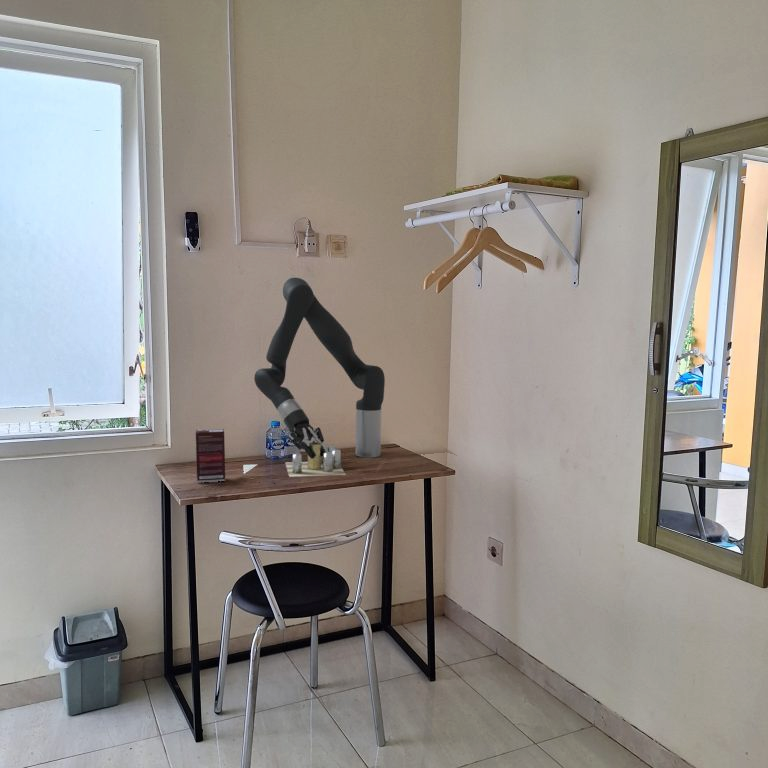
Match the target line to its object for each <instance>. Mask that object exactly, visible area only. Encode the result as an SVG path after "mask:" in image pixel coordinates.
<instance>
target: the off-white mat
mask: <svg viewBox="0 0 768 768" xmlns="http://www.w3.org/2000/svg"><path fill="white" fill-rule="evenodd" d="M258 465H259V464H254V463H253V464H243V466H242V467H243V469H242V470H243V471H244V472H243V474H244V475H245V474H246V473H247V472H249V471H251V470H252V469H253V468H255V467H256V466H258Z"/></svg>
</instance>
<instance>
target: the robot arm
mask: <svg viewBox="0 0 768 768" xmlns="http://www.w3.org/2000/svg"><path fill="white" fill-rule="evenodd" d="M282 295H283V298H284V299H285V302H286V304H285V305H286V307H285V310H284V311H285V312H284V315H283V318H282V320H281V322H280V324H279V326H278V328H277V329H276V330H275V332H274V335H273V336H272V339H271V341H270V344H269V347H268V349H267V352H266V358H265V359H266V360H267V362H268V363H270V364H271V367H270V368H269V367H267V368H264V367H263V368H260V369H258V370H257V371H255V373H254V384H255V385H256V387H257V388H258V390H259V391H260V392H261V393H262V394H263V395H264V396H265V397H266V398H267V399H269V400H270V401H271V402H272V404H273V406H274V407H275V409H276V411H277V413H278V415H279V416H280V418H281V420H282V421H283V423H284V425H285V426H286V428H287V429H288V431H289V433H290V434H289V435H288V436H287V439H288V440H289V441H290V442H291V443H292V444H293V445H294V446H295V447H296V448H297V449H298V450H303V451H305V453H306V454H307V457H308V456H309V457H310V458H311V459H313V458H314V457H315V456H316V454H315V452H314V450H313V449H312V447H311V446H310V444H309V443H321V457H322V456H323V453H325V452H326V451H325V449H324V448H323V446H322V444H323V443H324V442H325V439H324V436H323V435H324V434H323V433H322V430H321V427H316V428H314V427H313V426H312V425H311V424H310V419H309V417H308V415H307V414H306V413H305V411H304V410H303V408H302V407H301V405H300V404H299V402H298V401H297V399H296V398H295V397H294V395H293V394H292V392H291V391H290V389H288V388H287V387H285V386H282V385H283V384H284V382H285V379H286V371H287V360H288V357H289V355H290V352H291V349H292V346H293V343H294V341H295V337H296V335H297V333H298V331H299V328H300V326H301V325H302V322H303V320H304V319H305V321H306V322H307V324H308V325H309V327H310V329H311V330H312V332H313V334H315V335H314V336H315V337H316V338H317V339H318V341H319V342H320V343H321V344H322V345H323V347H324V348H325V349H326V350H327V351H328V352H329V353H330V354H331V356H332V357H333V359H335V361H336V362H337V363H338V364H339V365H340V367H342V369H343V370H344V372H345V374H346V375H347V376H348V378H349V379H350V381H351V382H352V384H353V385H354V386H355V388H358V389H360V390H361V391H363V393H362V397H361V399H358V400H357V401H356V402H355V453H354V454H355V457H358V456H359V457H358V458H365V459H366V458H370V459H371V458H378V457H381V450H382V449H381V446H382V405H383V402H384V398H385V386H386V385H385V383H386V381H385V380H386V379H385V373H384V370H383V369H382V368H381V367H379V366H378V365H371V364H366V363H365V362H363V360H362V359H361V358H360V357H359V356H358V355H357V353H356V352H355V350H354V347H353V346H354V345H353V342H352V339H351V338H352V337H351V336H350V335H349V333H348V332H347V331H346V329H345V328H344V327H343V326H342V325H341V323H340V322H339V321H338V320H337V319H336V318H335V317H334V316H333V315H332V314H331V313H330V312H329V311H328V309H326V308H325V307H324V306H323V304H321V303H320V301H319V300H318V298H317V297H316V295H315V294H314V291H313V289H312V288H311V286H310V285H309V283H308V282H307V281H306V280H304V279H303V278H300V277H290V278H288V279H287V280H286V281H285V283H283V286H282Z"/></svg>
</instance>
